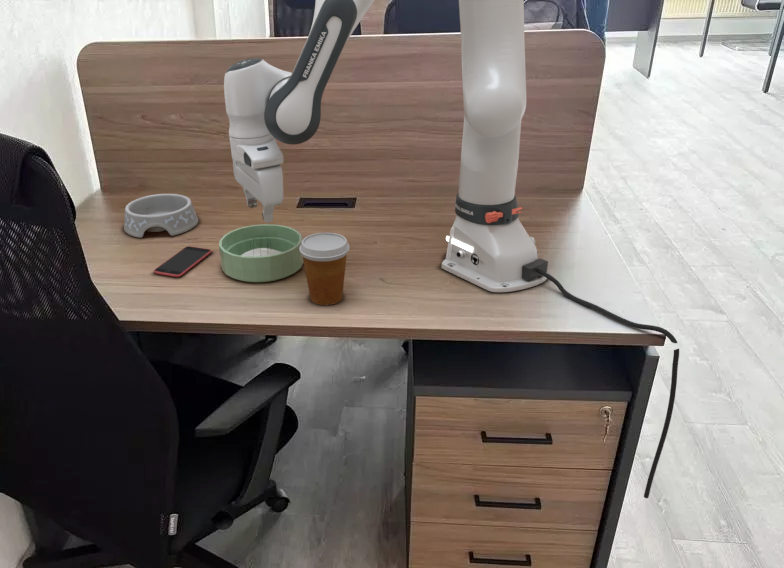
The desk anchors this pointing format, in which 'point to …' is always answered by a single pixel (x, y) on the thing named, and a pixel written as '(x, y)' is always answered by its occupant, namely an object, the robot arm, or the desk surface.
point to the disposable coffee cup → (325, 266)
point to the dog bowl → (160, 215)
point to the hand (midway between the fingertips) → (260, 213)
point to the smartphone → (182, 261)
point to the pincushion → (261, 251)
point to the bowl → (261, 266)
